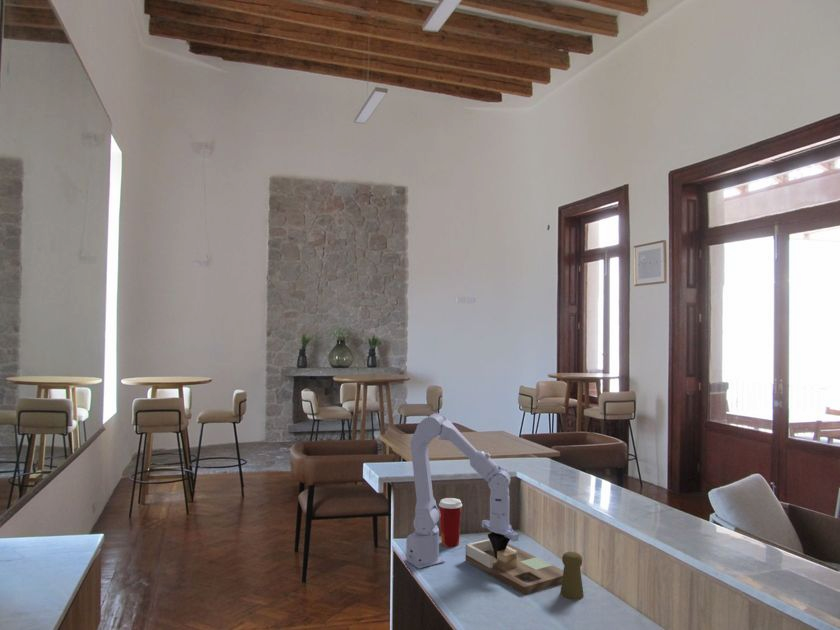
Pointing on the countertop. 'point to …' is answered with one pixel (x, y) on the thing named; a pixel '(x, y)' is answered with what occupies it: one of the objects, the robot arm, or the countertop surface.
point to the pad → (536, 563)
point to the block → (507, 559)
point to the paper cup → (450, 521)
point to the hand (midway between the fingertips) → (499, 558)
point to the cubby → (482, 552)
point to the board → (521, 573)
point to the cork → (572, 576)
